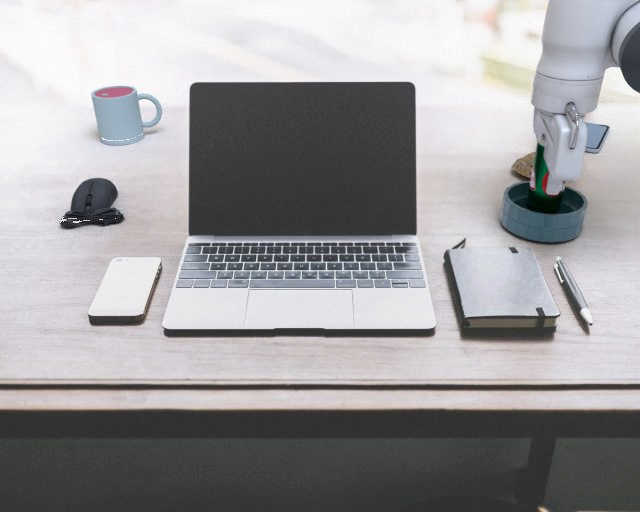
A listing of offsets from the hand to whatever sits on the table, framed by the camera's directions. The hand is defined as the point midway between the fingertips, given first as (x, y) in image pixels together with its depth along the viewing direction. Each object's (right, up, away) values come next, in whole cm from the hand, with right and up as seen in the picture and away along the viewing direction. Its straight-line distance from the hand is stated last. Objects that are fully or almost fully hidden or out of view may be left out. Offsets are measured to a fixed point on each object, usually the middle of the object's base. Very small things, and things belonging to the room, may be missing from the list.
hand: (548, 183), depth 94 cm
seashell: (+5, +4, +20) cm, 21 cm away
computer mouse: (-72, -3, +12) cm, 73 cm away
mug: (-75, +15, +41) cm, 87 cm away
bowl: (0, -6, +4) cm, 7 cm away
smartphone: (+21, +13, +35) cm, 43 cm away
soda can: (0, -4, +2) cm, 5 cm away
